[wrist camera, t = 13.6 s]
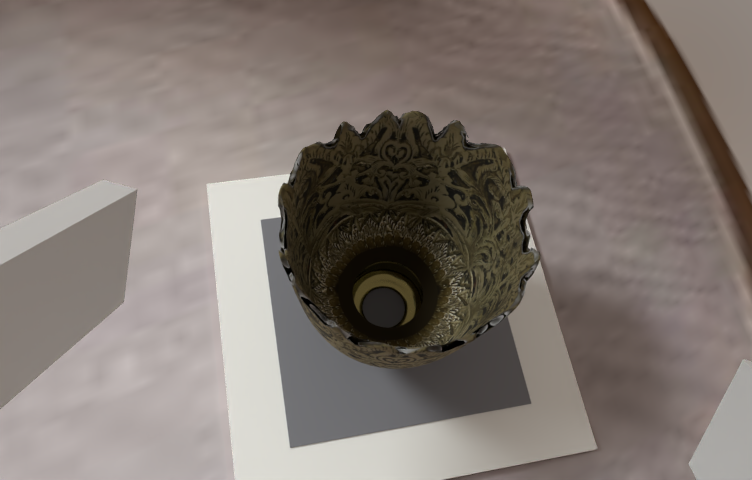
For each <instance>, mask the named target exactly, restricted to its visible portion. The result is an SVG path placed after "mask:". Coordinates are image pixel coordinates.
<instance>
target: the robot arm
mask: <svg viewBox="0 0 752 480" xmlns="http://www.w3.org/2000/svg"><path fill="white" fill-rule="evenodd" d="M136 197H137V189H135V188H132V187H128V186H125V185H121V184H117V183H114V182H110V181H107V180H101V181H99V182H97V183H95V184H93V185H91V186H89V187H86V188H84V189H82V190H80V191H78V192H76V193H74V194H72V195H70V196H67V197H65V198H63V199H61V200H59V201H57V202H55V203H53V204H51V205H48V206H46V207H44V208H42V209H40V210H38V211H36V212H34V213H32V214H29V215H27V216H25V217H23V218H21V219H19V220H17V221H15V222H13V223H10V224H8V225H6V226H4V227H2V228H0V409H1V408H2V407H3V406H4V405H6V404H7V403H8V402H9V401H10V400H11V399H12V398H14V397H15V396H16V395H17V394H18V393H19V392H21V391H22V390H23V389H24V388H25V387H26V386H27V385H29V384H30V383H31V382H32V381H33V380H34V379H36V378H37V377H38V376H39V375H40V374H41V373H43V372H44V371H45V370H46V369H47V368H48V367H49V366H51V365H52V364H53V363H54V362H55V361H56V360H58V359H59V358H60V357H61V356H62V355H63V354H64V353H66V352H67V351H68V350H69V349H70V348H71V347H73V346H74V345H75V344H76V343H77V342H78V341H80V340H81V339H82V338H83V337H84V336H85V335H86V334H88V333H89V332H90V331H91V330H92V329H93V328H95V327H96V326H97V325H98V324H99V323H100V322H101V321H103V320H104V319H105V318H106V317H107V316H108V315H110V314H111V313H112V312H113V311H114V310H115V309H116V308H118V307H119V306H120V305H121V304H122V303H123V302H124V296H125V288H126V280H127V271H128V263H129V255H130V247H131V238H132V230H133V222H134V214H135V205H136ZM689 466H690V468H691V470H692V472H693V474H694V476H695V478H696V480H752V361H749V360H746V359H743V360H742V362H741V364H740V366H739V368H738V370H737V372H736V374H735V376H734V378H733V380H732V381H731V383H730V385H729V387H728V389H727V391H726V393H725V395H724V397H723V399H722V401H721V403H720V405H719V406H718V408H717V410H716V412H715V414H714V416H713V418H712V420H711V422H710V424H709V426H708V428H707V429H706V431H705V433H704V435H703V437H702V439H701V441H700V443H699V445H698V447H697V449H696V451H695V453H694V454H693V456H692V458H691V460H690V462H689Z"/></svg>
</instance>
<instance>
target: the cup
mask: <svg viewBox="0 0 752 480" xmlns="http://www.w3.org/2000/svg"><path fill="white" fill-rule="evenodd" d="M442 131H443V132H442ZM442 131H440V132H439V133H438V134H434V130H433V126H432V124H431V122H430V120H429V118H428V117H427V116H426V115H425V114H423V113H421V112H419V111H411V112H409V113H405V114H403V115H402V116H401V118H399V119H398V117H397V116H394V115H393V114H392V112H390V111H389V110H386V111H384V112H383V113H381V114H380V115H379V116H378V117H377V118H376V119H375V120H374V121H373V122H372V123H370V124H366V126H365V127H364V129H363V132H362V133H361V134H359V133H358V132H357V131H356V130H355V128H354V126H351V125H350V124H349V123H347V122H342V123H341V124H340V126H339V128H338V129H337V131H336V134H335V137H334V139H333V140H332V141H331V142H328V143H324V144H323V143H321V142H317V143H315V144H312V145H310V146H308V147H305V148H303V149H302V151H301V152H300V153H299V155H298V157H297V159H296V162H295V164H294V167H293V170H292V172H291V173H290V177H289V180H288V183H283V184H282V186H281V188H280V190H279V194H278V207H279V209H280V215H281V229H280V232H279V240H280V243H281V250H279V256H280V260H281V262H282V265H283V268H284V270H285V272H286V274H287V276H288V278H289V281H290V283H291V285H292V287H293V289H294V292H295V294H296V296H297V298H298V300H299V302H300V304H301V306H302V308H303V310H304V312H305V314H306V315H307V317H308V319H309V320H310V322H311V323H312V325H313V326H314V327H315V329H316V330H317V331H318V332H319V333H320V335H321V336H322V337H323V338H324V339H325V340H326V341H327V342H328V343H329V344H330V345H332V346H333V347H334V348H336V349H337V350H338V351H340V352H341V353H343V354H345V355H346V356H348V357H350V358H352V359H354V360H356V361H358V362H361V363H364V364H367V365H370V366H375V367H380V368H389V369H404V368H412V367H417V366H421V365H425V364H429V363H432V362H434V361H437V360H440V359H442V358H444V357H446V356H448V355H450V354H451V353H453V352H455V351H457V350H459V349H460V348H462V347H464V346H465V345H467V344H468V343H470V342H472V341H474V340H476V338H478V337H479V336H481V335H482V334H484V333H485V332H487V331H488V330H490V329H491V328H493V327H494V326H496V325H497V324H498V323H500V322H501V321H502V320H503V319H505V318H506V317H507V316H508V315H509V314H511V313H512V312H513V311H514V310H515V309H516V308H517V306H518V305H519V304H520V302H521V300H522V298H523V296H524V293H525V287H526V284H527V281H528V280H529V279H530V278H531V277H532V275H533V274H534V272H535V270H536V268H537V266H538V264H539V261H540V252H539V251H537V250H535V249H534V248H531V249H529V248H528V245H529V241H530V232H529V231H528V230H527V226H526V219H527V216H528V213H529V211H530V210H531V209H532V208H533V199H532V193H531V191H530V189H529V188H528V187H526V186H517V182H516V175H515V170H514V167H513V165H512V163H511V161H510V159H509V157H508V156H507V154H506V153H505V151H504V150H503V148H501V147H500V146H498V145H494V144H486V143H481V144H475V143H471V142H468V140H467V142H468V143H467V142H466V135H467V133H466V131H465V129H464V126H463V125H462V124H461V122H460V121H457V120H453V121H452V122H451V123H450V124H448V125H447V126H446V127H444V128H443V130H442ZM441 132H442V133H441ZM435 135H438V136H435ZM467 137H468V136H467ZM468 138H469V137H468ZM378 288H389V289H392V290H394V291H395V292H397V293H398V294H399V295H400V296H401V298H402V299H403V302H404V306H405V311H404V315H403V318H402V319H401V321H400V322H399V323H397V324H396V325H395V326H392V327H389V328H387V327H380V326H377V325H374V324H372V323H370V322H369V321H368V320H367V319H366V317H365V315H364V313H363V302H364V299H365V297H366V296H367V295H368V294H369V293H370V292H371V291H373V290H375V289H378Z"/></svg>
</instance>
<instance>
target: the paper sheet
mask: <svg viewBox="0 0 752 480" xmlns="http://www.w3.org/2000/svg"><path fill="white" fill-rule="evenodd" d="M503 150H504V151H505V153H506V149H505V148H503ZM506 154H507V153H506ZM289 177H290V174H285V175H276V176H268V177H260V178H252V179H243V180H235V181H227V182H218V183H210V184H207V194H208V204H209V215H210V225H211V236H212V246H213V256H214V267H215V277H216V288H217V298H218V309H219V319H220V330H221V340H222V351H223V361H224V372H225V382H226V393H227V403H228V414H229V424H230V435H231V445H232V456H233V466H234V477H235V480H445V479H450V478H455V477H460V476H465V475H470V474H475V473H480V472H485V471H490V470H495V469H500V468H506V467H511V466H516V465H521V464H526V463H531V462H536V461H541V460H546V459H551V458H556V457H561V456H567V455H572V454H577V453H582V452H587V451H592V450H596V449H597V446H596V442H595V439H594V436H593V433H592V429H591V426H590V423H589V420H588V416H587V413H586V410H585V407H584V403H583V400H582V397H581V393H580V390H579V387H578V384H577V380H576V377H575V374H574V371H573V367H572V364H571V361H570V358H569V354H568V351H567V348H566V345H565V341H564V338H563V335H562V332H561V328H560V325H559V322H558V319H557V315H556V312H555V309H554V306H553V302H552V299H551V296H550V293H549V289H548V286H547V283H546V280H545V276H544V273H543V270H542V266H541V263H540V261H539V264H538V266H537V268H536V270H535V272H534V274H533V275H532V277H531V278H530V279H529V280H528V281H527V284H526V287H525V293H524V296H523V298H522V300H521V302H520V304H519V305H518V306H517V308H516V309H515V310H514V311H513V312H512V313H511V314H509V315H508V316H507V317H506V318H505V319H503V320H502V321H501V322H500V323H498V324H497V325H496V326H494V327H493V328H491V329H490V330H488V331H487V332H485V333H484V334H482V335H481V336H479V337H478V338H476V340H474V341H472V342H470V343H468V344H467V345H465V346H464V347H462V348H460V349H459V350H457V351H455V352H453V353H451V354H450V355H448V356H446V357H444V358H442V359H440V360H437V361H434V362H432V363H429V364H425V365H421V366H417V367H412V368H404V369H389V368H380V367H375V366H370V365H367V364H364V363H361V362H358V361H356V360H354V359H352V358H350V357H348V356H346V355H345V354H343V353H341V352H340V351H338V350H337V349H336V348H334V347H333V346H332V345H330V344H329V343H328V342H327V341H326V340H325V339H324V338H323V337H322V336H321V335H320V333H319V332H318V331H317V330H316V329H315V327H314V326H313V325H312V323H311V322H310V320H309V319H308V317H307V315H306V314H305V312H304V310H303V308H302V306H301V304H300V302H299V300H298V298H297V296H296V294H295V292H294V289H293V287H292V285H291V283H290V281H289V278H288V276H287V274H286V272H285V270H284V268H283V265H282V262H281V260H280V256H279V250H281V243H280V240H279V232H280V229H281V215H280V209H279V207H278V194H279V190H280V188H281V186H282V184H283V183H288V180H289ZM526 226H527V230H528V231H529V232H530V241H529V245H528V248H529V249H531V248H534V249H535V250H536V247H535V244H534V240H533V237H532V234H531V231H530V227H529V224H528V221H527V219H526ZM404 311H405V306H404V302H403V299H402V298H401V296H400V295H399V294H398V293H397V292H395V291H394V290H392V289H389V288H378V289H375V290H373V291H371V292H370V293H369V294H368V295H367V296H366V297H365V299H364V302H363V313H364V315H365V317H366V319H367V320H368V321H369V322H370V323H372V324H374V325H377V326H380V327H387V328H389V327H392V326H395V325H396V324H397V323H399V322H400V321H401V319H402V318H403V315H404Z"/></svg>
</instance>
